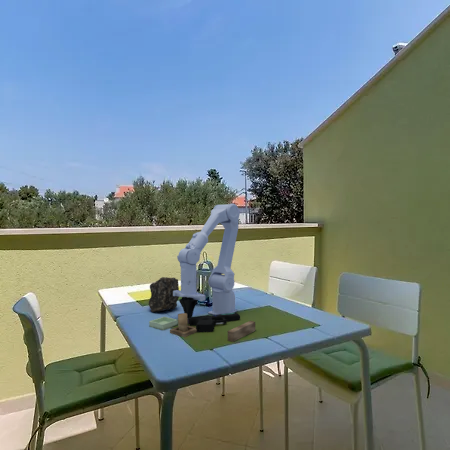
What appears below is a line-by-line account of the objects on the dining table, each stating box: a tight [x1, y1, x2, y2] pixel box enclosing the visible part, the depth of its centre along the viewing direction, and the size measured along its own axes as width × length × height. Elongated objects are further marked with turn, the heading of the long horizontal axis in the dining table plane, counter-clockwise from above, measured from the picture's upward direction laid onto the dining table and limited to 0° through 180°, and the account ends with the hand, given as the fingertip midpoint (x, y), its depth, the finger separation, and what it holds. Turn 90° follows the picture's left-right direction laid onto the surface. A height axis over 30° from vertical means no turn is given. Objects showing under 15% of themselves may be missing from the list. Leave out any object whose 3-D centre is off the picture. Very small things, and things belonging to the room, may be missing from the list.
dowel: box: [177, 312, 189, 332], centre depth 104 cm, size 3×3×6 cm
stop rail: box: [227, 320, 256, 343], centre depth 101 cm, size 13×2×3 cm, turn 143°
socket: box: [169, 325, 198, 338], centre depth 104 cm, size 7×7×1 cm
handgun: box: [187, 312, 241, 333], centre depth 112 cm, size 19×3×12 cm
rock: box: [148, 276, 180, 313], centre depth 133 cm, size 14×13×15 cm
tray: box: [148, 316, 178, 331], centre depth 111 cm, size 7×7×2 cm
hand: (188, 317), depth 116 cm, fingers closed
